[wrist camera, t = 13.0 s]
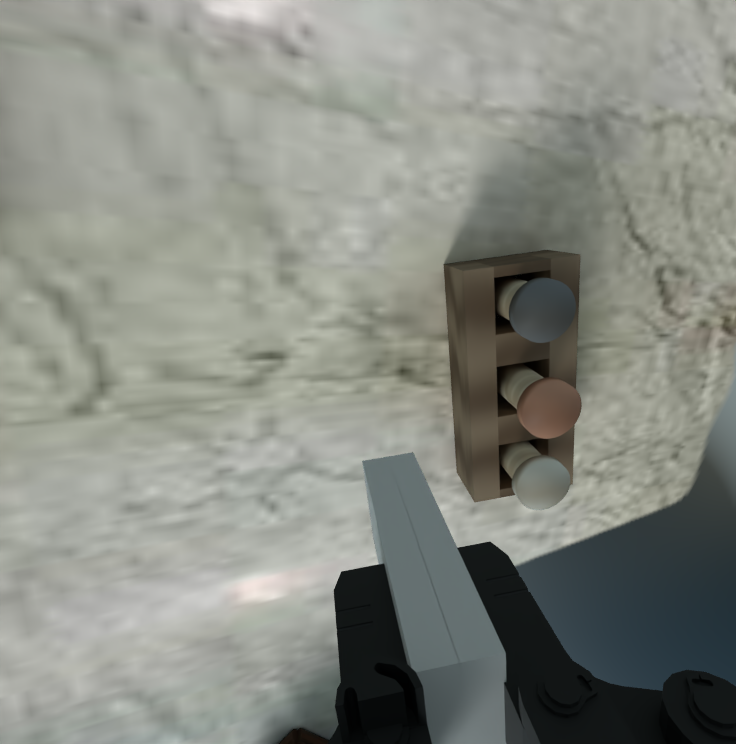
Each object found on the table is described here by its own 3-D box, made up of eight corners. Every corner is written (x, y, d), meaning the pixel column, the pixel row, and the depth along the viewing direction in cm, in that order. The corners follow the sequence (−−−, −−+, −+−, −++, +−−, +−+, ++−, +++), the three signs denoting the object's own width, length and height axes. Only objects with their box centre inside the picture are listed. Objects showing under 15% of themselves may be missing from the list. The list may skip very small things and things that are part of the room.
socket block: (443, 264, 38) (463, 271, 34) (547, 250, 39) (580, 254, 34) (456, 472, 45) (474, 502, 40) (544, 456, 46) (572, 484, 41)
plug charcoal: (473, 270, 38) (514, 284, 31) (523, 263, 39) (576, 275, 31) (475, 322, 40) (515, 347, 32) (524, 315, 40) (574, 337, 33)
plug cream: (479, 422, 43) (516, 466, 35) (524, 415, 43) (571, 457, 36) (481, 463, 44) (517, 514, 37) (525, 456, 45) (569, 504, 37)
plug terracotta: (481, 354, 40) (522, 387, 32) (530, 347, 40) (582, 377, 32) (482, 401, 41) (522, 443, 33) (530, 393, 41) (580, 433, 34)
